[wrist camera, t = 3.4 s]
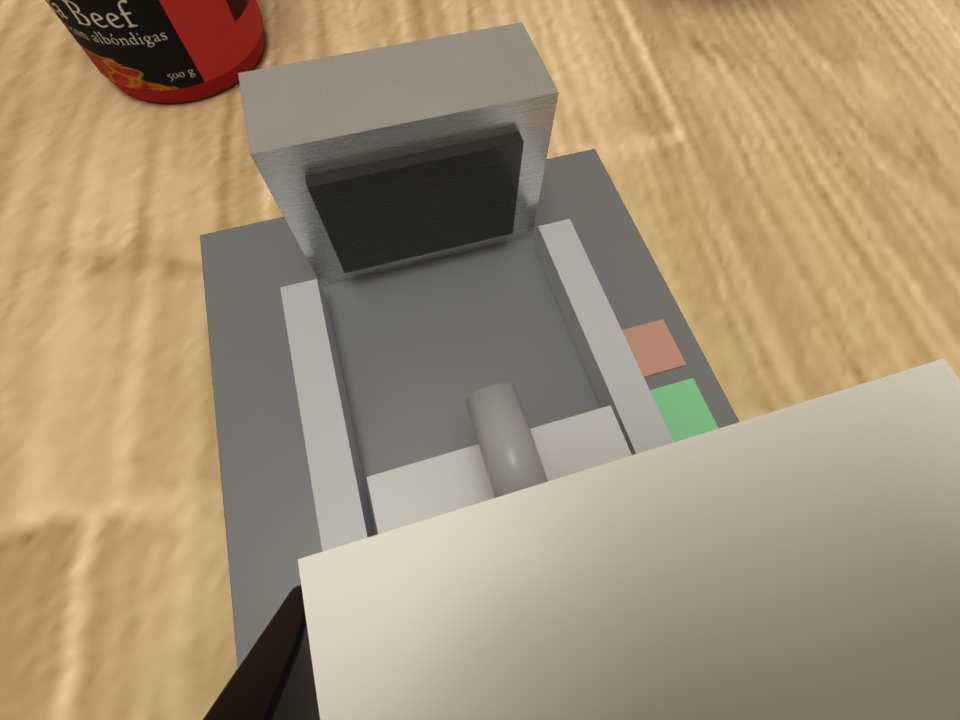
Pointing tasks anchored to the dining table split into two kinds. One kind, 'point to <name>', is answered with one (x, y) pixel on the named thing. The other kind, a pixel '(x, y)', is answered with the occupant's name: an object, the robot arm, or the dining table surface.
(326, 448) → the track
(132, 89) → the canned food
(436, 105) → the grey block with recess
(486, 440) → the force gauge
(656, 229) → the dining table surface
